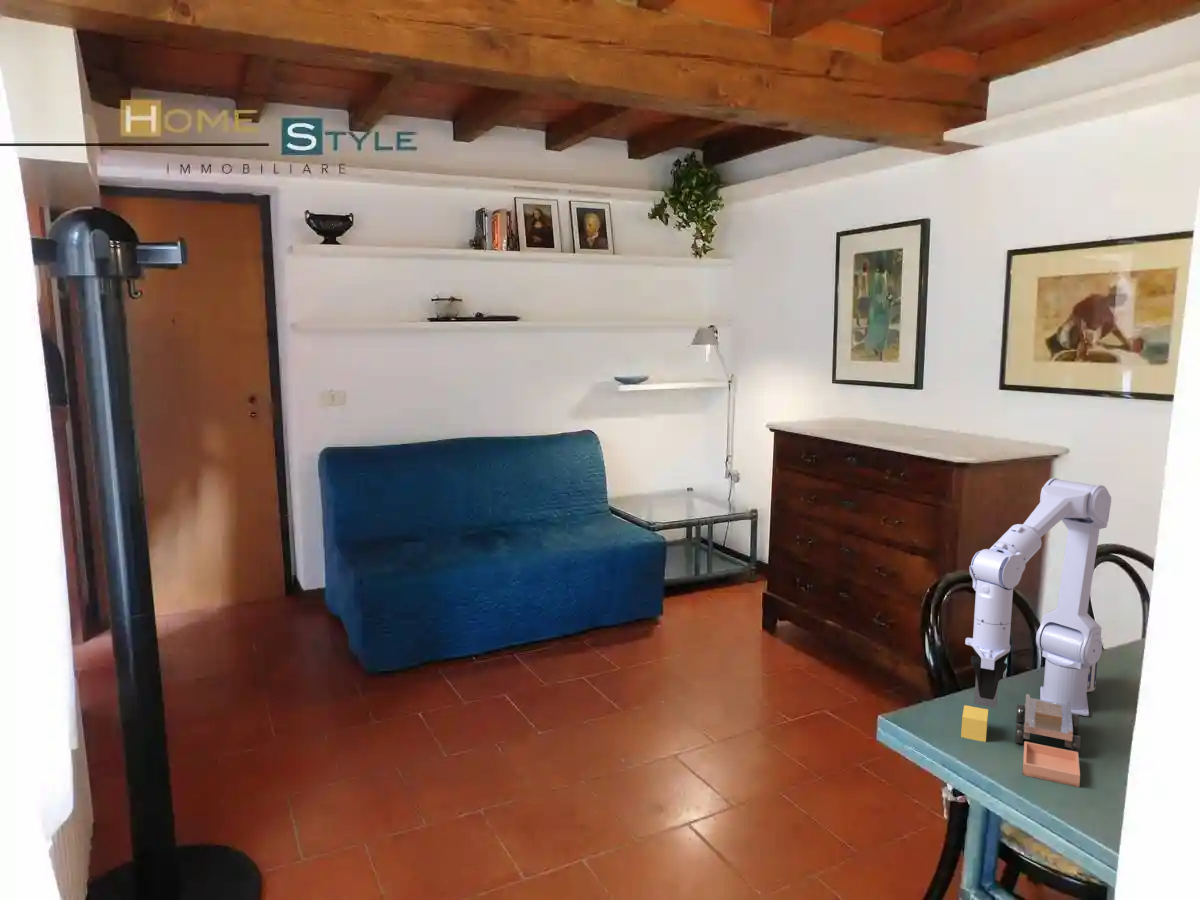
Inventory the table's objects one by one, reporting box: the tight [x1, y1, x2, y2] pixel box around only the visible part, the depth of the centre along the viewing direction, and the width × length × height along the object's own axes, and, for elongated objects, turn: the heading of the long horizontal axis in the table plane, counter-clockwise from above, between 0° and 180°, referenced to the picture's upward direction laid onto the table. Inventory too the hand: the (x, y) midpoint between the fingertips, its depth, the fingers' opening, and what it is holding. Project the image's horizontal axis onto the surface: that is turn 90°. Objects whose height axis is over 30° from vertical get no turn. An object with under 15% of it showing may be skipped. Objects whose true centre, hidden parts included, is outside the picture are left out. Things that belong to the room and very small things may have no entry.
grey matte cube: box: [973, 676, 1000, 709], centre depth 143 cm, size 4×4×5 cm
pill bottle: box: [1087, 660, 1099, 693], centre depth 164 cm, size 5×5×10 cm
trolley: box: [1014, 693, 1082, 757], centre depth 145 cm, size 12×10×6 cm
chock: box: [960, 704, 989, 743], centre depth 147 cm, size 5×4×4 cm
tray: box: [1022, 740, 1081, 788], centre depth 135 cm, size 8×8×2 cm
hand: (987, 693), depth 143 cm, fingers closed on grey matte cube, 3 cm apart
